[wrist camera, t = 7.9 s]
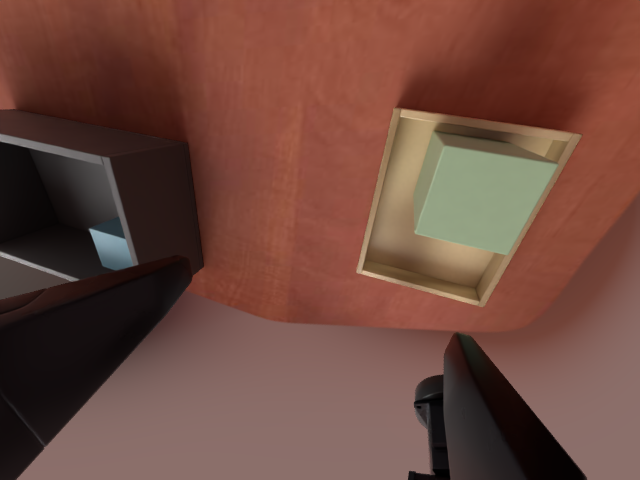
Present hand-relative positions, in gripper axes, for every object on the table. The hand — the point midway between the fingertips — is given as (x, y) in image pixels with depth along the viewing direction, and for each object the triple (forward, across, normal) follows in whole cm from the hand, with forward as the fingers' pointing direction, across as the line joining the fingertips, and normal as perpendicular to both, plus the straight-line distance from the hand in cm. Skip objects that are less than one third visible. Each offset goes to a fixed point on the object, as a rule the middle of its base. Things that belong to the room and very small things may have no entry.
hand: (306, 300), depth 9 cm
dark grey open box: (+12, +24, +4) cm, 27 cm away
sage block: (+11, -5, -3) cm, 13 cm away
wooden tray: (+12, -5, 0) cm, 13 cm away
